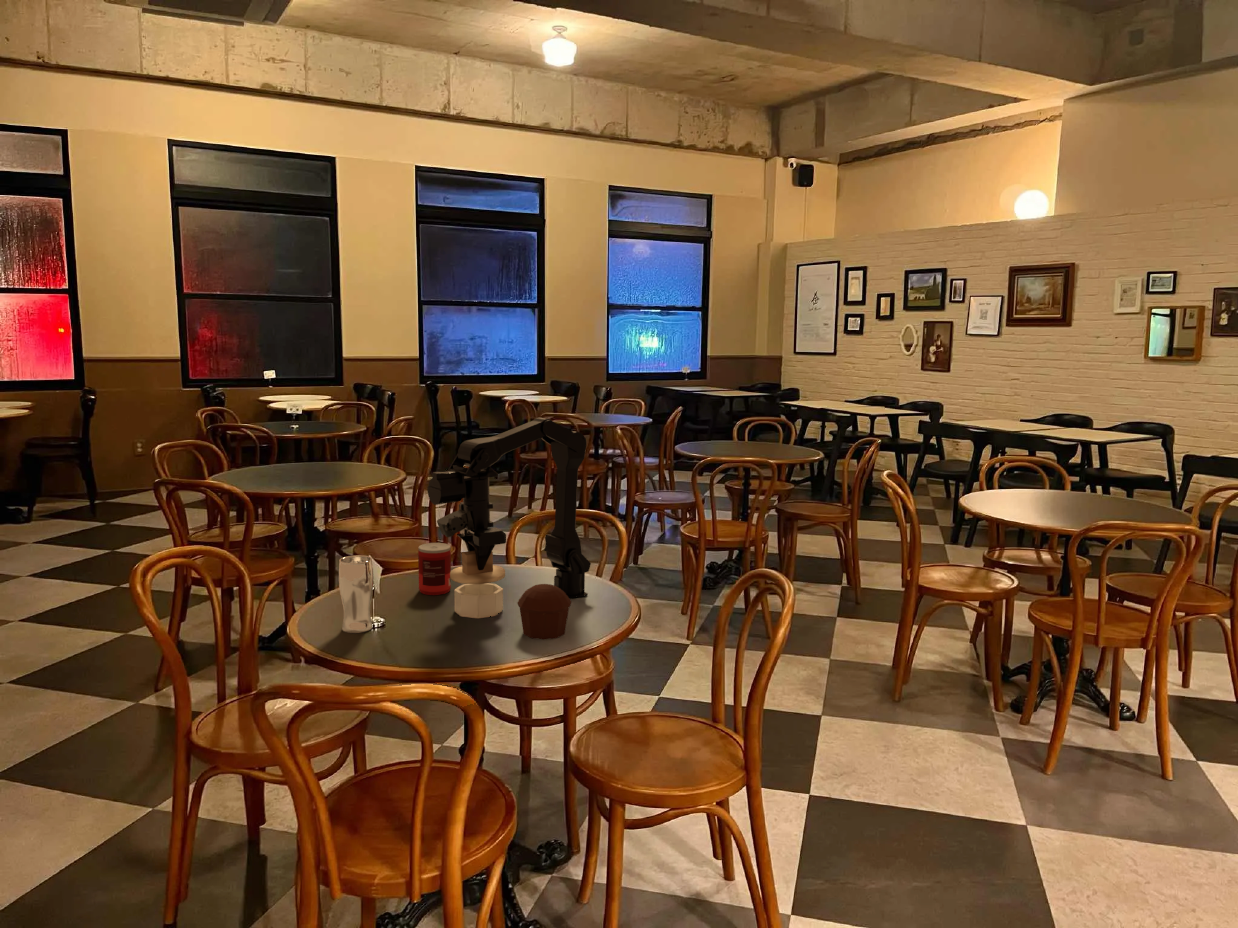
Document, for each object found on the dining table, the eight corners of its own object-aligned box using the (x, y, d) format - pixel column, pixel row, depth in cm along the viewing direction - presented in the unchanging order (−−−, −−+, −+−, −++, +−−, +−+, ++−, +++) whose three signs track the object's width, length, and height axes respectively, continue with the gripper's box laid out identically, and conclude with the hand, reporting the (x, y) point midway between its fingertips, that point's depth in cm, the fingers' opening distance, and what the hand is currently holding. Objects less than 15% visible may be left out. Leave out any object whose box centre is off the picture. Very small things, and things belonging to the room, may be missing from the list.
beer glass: (381, 625, 187) (379, 557, 185) (361, 635, 180) (359, 565, 178) (353, 621, 189) (351, 553, 187) (333, 631, 183) (331, 561, 180)
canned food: (440, 584, 218) (439, 540, 216) (457, 591, 212) (457, 547, 210) (412, 589, 213) (411, 545, 211) (429, 597, 207) (429, 552, 205)
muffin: (511, 626, 188) (511, 580, 187) (560, 620, 192) (561, 576, 191) (526, 644, 177) (526, 597, 176) (578, 638, 182) (579, 592, 180)
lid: (492, 565, 202) (492, 542, 201) (514, 578, 192) (513, 554, 191) (442, 573, 196) (441, 549, 195) (461, 587, 186) (461, 562, 185)
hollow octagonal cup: (491, 601, 205) (491, 580, 204) (508, 613, 196) (508, 592, 196) (450, 607, 200) (449, 586, 199) (465, 620, 191) (465, 598, 191)
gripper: (426, 494, 195) (428, 562, 197) (456, 510, 179) (458, 584, 182) (473, 490, 200) (475, 556, 203) (506, 505, 185) (507, 576, 187)
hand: (477, 568), depth 194 cm, fingers closed on lid, 3 cm apart
